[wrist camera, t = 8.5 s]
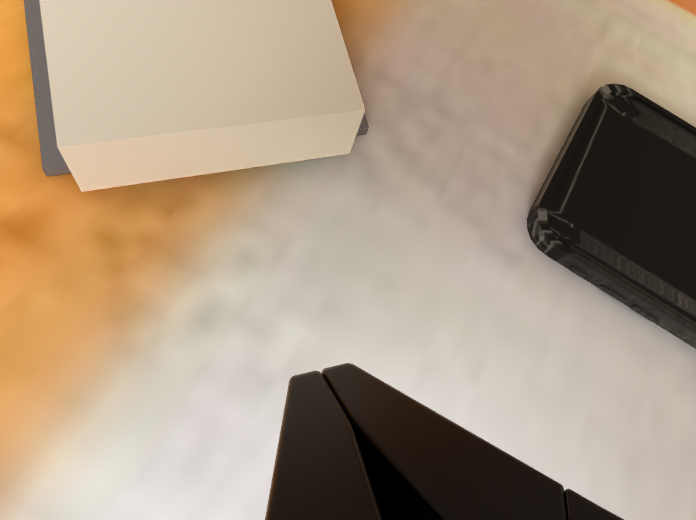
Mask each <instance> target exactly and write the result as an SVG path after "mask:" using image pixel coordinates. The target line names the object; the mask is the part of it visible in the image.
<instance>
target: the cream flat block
mask: <svg viewBox="0 0 696 520" xmlns="http://www.w3.org/2000/svg"><path fill="white" fill-rule="evenodd" d="M39 2H40V10H41V18H42V26H43V35H44V43H45V51H46V59H47V67H48V75H49V83H50V92H51V100H52V108H53V116H54V124H55V132H56V140H57V148H58V149H59V151H60V153H61V155H62V157H63V159H64V160H65V162H66V164H67V166H68V168H69V170H70V171H71V173H72V175H73V177H74V179H75V181H76V182H77V184H78V186H79V188H80V190H81V192H84V191H91V190H98V189H105V188H112V187H119V186H126V185H133V184H140V183H147V182H154V181H161V180H168V179H175V178H182V177H189V176H197V175H204V174H211V173H218V172H225V171H232V170H239V169H246V168H253V167H260V166H267V165H274V164H281V163H288V162H295V161H302V160H309V159H316V158H323V157H330V156H337V155H344V154H350V152H351V149H352V146H353V143H354V140H355V138H356V135H357V132H358V129H359V126H360V123H361V121H362V118H363V115H364V112H365V106H364V103H363V100H362V97H361V94H360V90H359V87H358V84H357V81H356V78H355V75H354V71H353V68H352V65H351V62H350V59H349V55H348V52H347V49H346V46H345V43H344V40H343V36H342V33H341V30H340V27H339V24H338V20H337V17H336V14H335V11H334V8H333V4H332V1H331V0H39Z"/></svg>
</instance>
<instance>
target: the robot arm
mask: <svg viewBox="0 0 696 520" xmlns="http://www.w3.org/2000/svg"><path fill="white" fill-rule="evenodd" d="M265 520H624V519H622V518H620V517H618V516H616V515H614V514H613V513H611V512H609V511H607V510H605V509H604V508H602V507H600V506H598V505H596V504H595V503H593V502H591V501H589V500H588V499H586V498H584V497H583V496H581V495H579V494H577V493H576V492H574V491H572V490H570V489H566V490H565V491H564V489H563V486H562V485H561V484H560V483H558V482H556V481H554V480H553V479H551V478H549V477H547V476H546V475H544V474H542V473H540V472H539V471H537V470H535V469H534V468H532V467H530V466H528V465H527V464H525V463H523V462H521V461H520V460H518V459H516V458H514V457H513V456H511V455H509V454H508V453H506V452H504V451H502V450H501V449H499V448H497V447H495V446H494V445H492V444H490V443H488V442H487V441H485V440H483V439H482V438H480V437H478V436H476V435H475V434H473V433H471V432H469V431H468V430H466V429H464V428H462V427H461V426H459V425H457V424H456V423H454V422H452V421H450V420H449V419H447V418H445V417H443V416H442V415H440V414H438V413H436V412H435V411H433V410H431V409H430V408H428V407H426V406H424V405H423V404H421V403H419V402H417V401H416V400H414V399H412V398H410V397H409V396H407V395H405V394H404V393H402V392H400V391H398V390H397V389H395V388H393V387H391V386H390V385H388V384H386V383H384V382H383V381H381V380H379V379H378V378H376V377H374V376H372V375H371V374H369V373H367V372H365V371H364V370H362V369H360V368H358V367H357V366H355V365H353V364H350V363H345V364H341V365H337V366H333V367H329V368H325V369H324V370H323V371H322V373H320V372H319V371H312V372H308V373H304V374H300V375H295V376H293V377H291V379H290V381H289V386H288V392H287V397H286V403H285V409H284V415H283V420H282V426H281V432H280V437H279V443H278V449H277V455H276V460H275V466H274V472H273V478H272V483H271V489H270V495H269V500H268V506H267V512H266V518H265Z"/></svg>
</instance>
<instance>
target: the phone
mask: <svg viewBox="0 0 696 520" xmlns="http://www.w3.org/2000/svg"><path fill="white" fill-rule="evenodd" d="M527 229H528V232H529V235H530V237H531V240H532V241H533V242H534V244H535V245H536V247H537V248H538V249H539V250H541V251H542V252H543V253H544V254H545V255H547V256H548V257H550V258H552V259H553V260H555V261H556V262H558V263H560V264H561V265H563V266H564V267H566V268H568V269H569V270H571V271H572V272H574V273H576V274H577V275H579V276H580V277H582V278H584V279H585V280H587V281H588V282H590V283H592V284H593V285H595V286H596V287H598V288H600V289H601V290H603V291H604V292H606V293H608V294H609V295H611V296H612V297H614V298H616V299H617V300H619V301H620V302H622V303H624V304H625V305H627V306H628V307H630V308H631V309H632V310H634V311H636V312H637V313H639V314H640V315H642V316H644V317H645V318H647V319H648V320H650V321H652V322H654V323H655V324H657V325H659V326H660V327H662V328H663V329H665V330H667V331H668V332H670V333H671V334H673V335H675V336H676V337H678V338H679V339H681V340H683V341H684V342H686V343H687V344H689V345H691V346H692V347H694V348H695V349H696V128H695V127H694V126H692V125H690V124H689V123H687V122H685V121H684V120H682V119H681V118H679V117H677V116H676V115H674V114H672V113H671V112H669V111H667V110H666V109H664V108H662V107H661V106H659V105H657V104H656V103H654V102H653V101H651V100H649V99H648V98H646V97H644V96H643V95H641V94H639V93H638V92H636V91H634V90H633V89H631V88H628V87H626V86H624V85H619V84H607V85H605V86H603V87H601V88H599V90H598V91H597V92H596V93H595V94H594V95H593V96H592V97H591V98H590V99H589V100H588V102H587V103H586V104H585V105H584V107H583V109H582V111H581V113H580V115H579V117H578V119H577V121H576V122H575V124H574V126H573V128H572V130H571V132H570V134H569V136H568V138H567V140H566V142H565V144H564V146H563V147H562V149H561V151H560V153H559V155H558V157H557V159H556V161H555V163H554V165H553V167H552V169H551V171H550V172H549V174H548V176H547V178H546V180H545V182H544V184H543V186H542V188H541V190H540V192H539V194H538V196H537V197H536V199H535V201H534V203H533V205H532V207H531V209H530V211H529V214H528V218H527Z"/></svg>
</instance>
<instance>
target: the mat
mask: <svg viewBox="0 0 696 520" xmlns="http://www.w3.org/2000/svg"><path fill="white" fill-rule="evenodd" d="M24 5H25V14H26V23H27V32H28V41H29V50H30V59H31V68H32V77H33V86H34V95H35V104H36V113H37V122H38V131H39V140H40V149H41V158H42V167H43V171H44V172H45V174H46V176H53V175H61V174H68V173H71V171H70V170H69V168H68V166H67V164H66V162H65V160H64V159H63V157H62V155H61V153H60V151H59V149H58V148H57V140H56V132H55V124H54V116H53V108H52V100H51V92H50V83H49V75H48V67H47V59H46V51H45V43H44V35H43V26H42V18H41V10H40V2H39V0H24ZM367 130H368V124H367V121H366V118H365V115H363V118H362V121H361V123H360V126H359V129H358V132H357V135H361V134H366V132H367Z"/></svg>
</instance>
